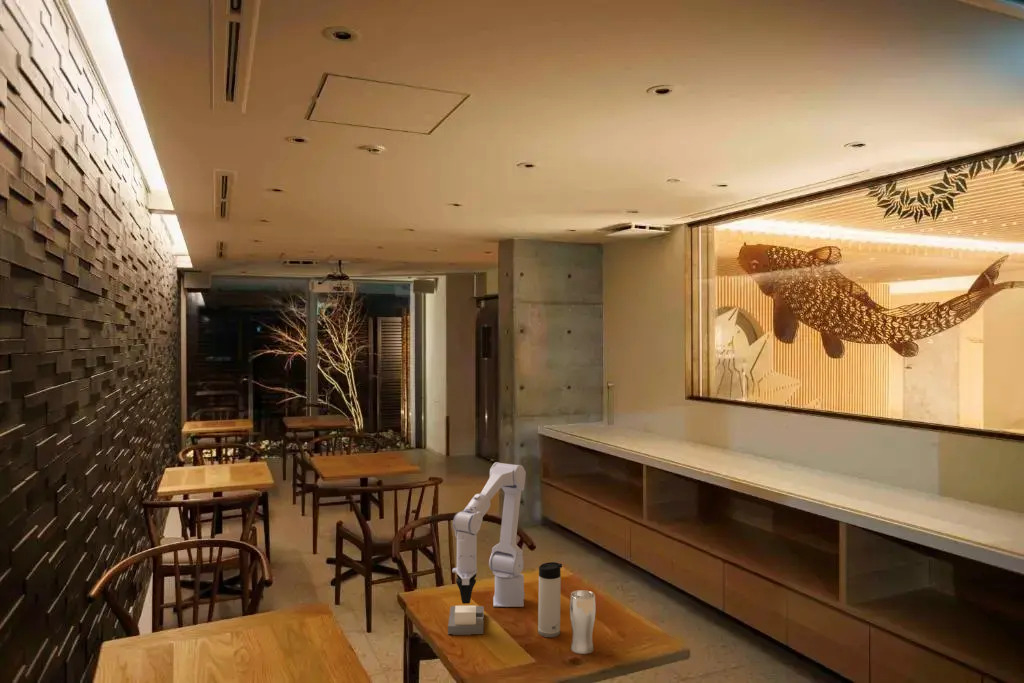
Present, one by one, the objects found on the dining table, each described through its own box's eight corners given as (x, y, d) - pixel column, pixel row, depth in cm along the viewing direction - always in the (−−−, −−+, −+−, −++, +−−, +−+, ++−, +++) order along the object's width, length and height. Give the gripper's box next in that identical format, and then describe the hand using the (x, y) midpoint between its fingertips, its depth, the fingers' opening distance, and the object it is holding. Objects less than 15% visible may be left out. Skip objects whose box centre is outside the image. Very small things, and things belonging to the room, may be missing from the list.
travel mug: (559, 638, 197) (560, 568, 197) (536, 636, 199) (537, 566, 198) (562, 629, 204) (563, 561, 203) (540, 627, 205) (540, 559, 204)
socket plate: (483, 614, 213) (483, 606, 213) (483, 634, 200) (483, 626, 199) (450, 614, 213) (450, 606, 213) (447, 635, 199) (447, 626, 199)
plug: (482, 624, 205) (482, 605, 205) (482, 631, 201) (482, 612, 200) (455, 624, 205) (455, 605, 205) (454, 631, 200) (454, 612, 200)
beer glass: (578, 640, 196) (579, 587, 196) (599, 648, 192) (600, 594, 191) (564, 649, 191) (564, 595, 191) (585, 657, 187) (586, 601, 186)
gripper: (453, 545, 209) (453, 591, 210) (451, 562, 195) (450, 611, 195) (477, 545, 210) (477, 590, 210) (476, 562, 195) (476, 611, 195)
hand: (466, 600), depth 203 cm, fingers open, 3 cm apart
